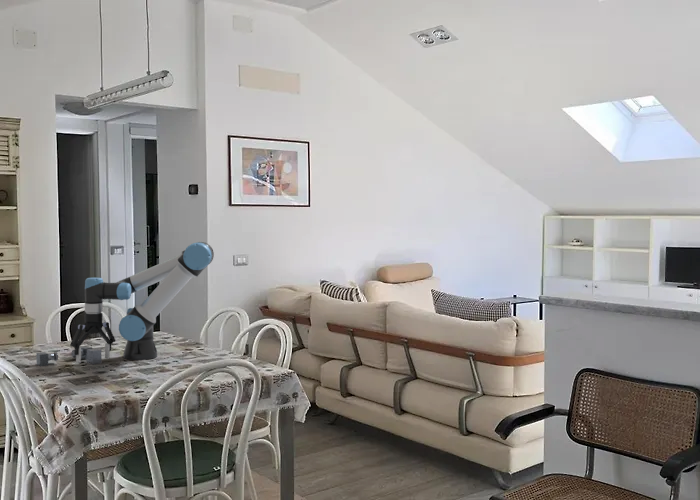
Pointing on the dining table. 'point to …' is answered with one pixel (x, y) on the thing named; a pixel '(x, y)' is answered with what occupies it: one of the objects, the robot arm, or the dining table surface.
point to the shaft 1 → (45, 358)
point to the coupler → (94, 356)
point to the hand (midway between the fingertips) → (93, 360)
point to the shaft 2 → (82, 352)
